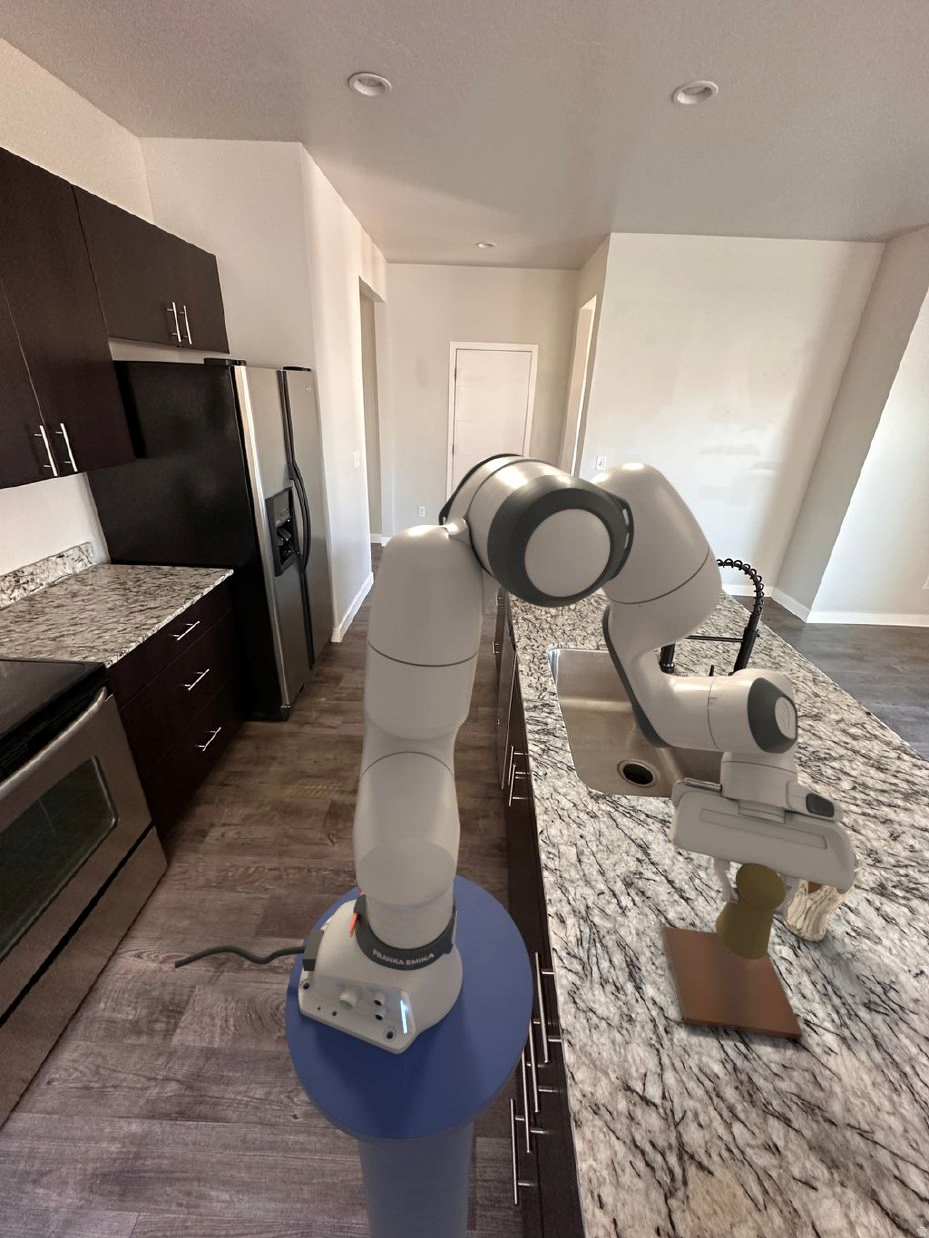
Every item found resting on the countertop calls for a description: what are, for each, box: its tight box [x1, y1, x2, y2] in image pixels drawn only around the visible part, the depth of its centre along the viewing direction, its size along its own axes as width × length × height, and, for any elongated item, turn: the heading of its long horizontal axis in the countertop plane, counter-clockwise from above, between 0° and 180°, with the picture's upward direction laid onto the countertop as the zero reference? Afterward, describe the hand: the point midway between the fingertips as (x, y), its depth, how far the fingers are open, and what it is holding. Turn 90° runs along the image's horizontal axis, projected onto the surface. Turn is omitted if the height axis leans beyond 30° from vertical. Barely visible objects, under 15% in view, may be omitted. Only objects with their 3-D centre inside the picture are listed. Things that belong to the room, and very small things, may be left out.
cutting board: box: [660, 925, 804, 1041], centre depth 67 cm, size 14×12×1 cm
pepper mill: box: [714, 863, 785, 960], centre depth 60 cm, size 6×6×11 cm
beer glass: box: [779, 848, 863, 942], centre depth 72 cm, size 7×7×15 cm
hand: (754, 908), depth 60 cm, fingers closed on pepper mill, 4 cm apart
